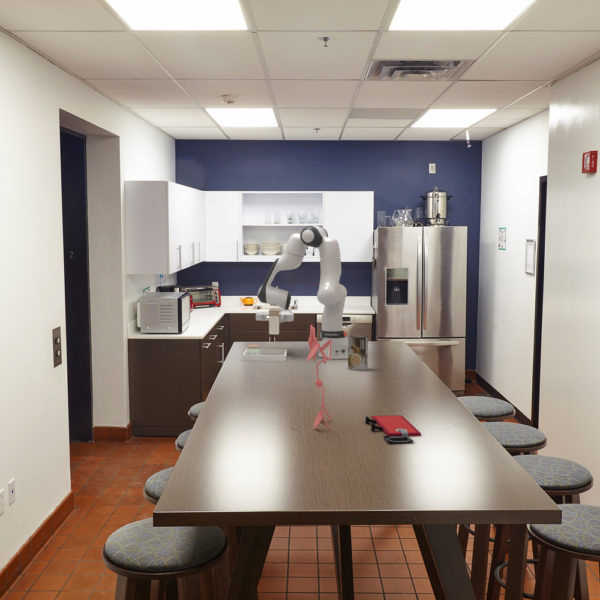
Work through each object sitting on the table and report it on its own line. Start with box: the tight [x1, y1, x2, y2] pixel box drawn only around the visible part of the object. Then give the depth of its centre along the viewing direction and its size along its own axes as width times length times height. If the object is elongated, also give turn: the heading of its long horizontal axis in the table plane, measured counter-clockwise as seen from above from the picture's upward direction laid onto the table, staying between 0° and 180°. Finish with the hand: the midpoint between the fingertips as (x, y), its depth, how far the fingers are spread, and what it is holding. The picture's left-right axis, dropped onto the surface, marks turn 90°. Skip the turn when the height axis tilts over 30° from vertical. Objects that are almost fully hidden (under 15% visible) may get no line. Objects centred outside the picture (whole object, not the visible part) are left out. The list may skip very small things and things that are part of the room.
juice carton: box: [268, 305, 280, 335], centre depth 343 cm, size 5×5×14 cm
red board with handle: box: [364, 414, 422, 443], centre depth 224 cm, size 30×3×15 cm
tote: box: [242, 348, 288, 362], centre depth 344 cm, size 22×18×4 cm
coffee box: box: [347, 334, 369, 371], centre depth 323 cm, size 9×6×16 cm
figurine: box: [291, 324, 336, 433], centre depth 228 cm, size 15×26×35 cm, turn 173°
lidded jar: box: [247, 343, 261, 355], centre depth 342 cm, size 6×6×7 cm
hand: (274, 318), depth 342 cm, fingers closed on juice carton, 5 cm apart
